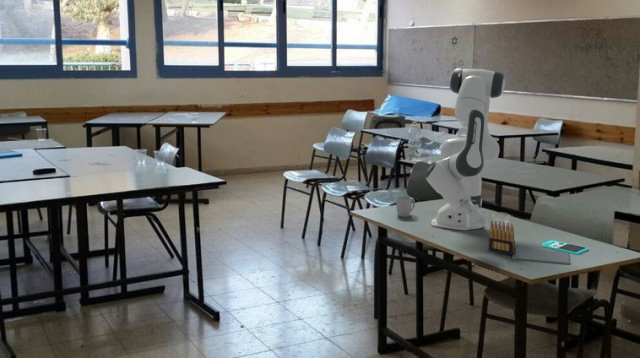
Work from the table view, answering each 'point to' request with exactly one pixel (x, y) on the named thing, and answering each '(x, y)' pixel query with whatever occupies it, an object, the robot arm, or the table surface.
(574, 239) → the table surface
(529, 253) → the rubber mat
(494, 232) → the ammunition clip
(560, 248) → the handheld game console
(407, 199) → the cup
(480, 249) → the table surface
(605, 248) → the table surface
